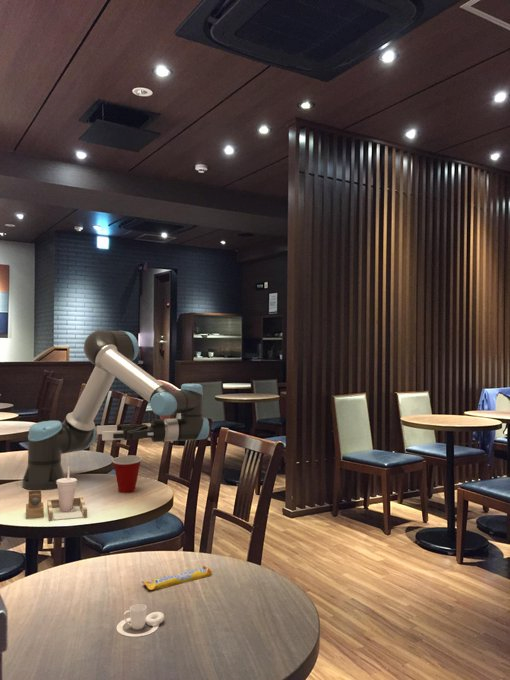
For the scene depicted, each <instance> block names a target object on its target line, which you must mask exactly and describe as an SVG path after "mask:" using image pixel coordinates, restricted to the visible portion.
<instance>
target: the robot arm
mask: <svg viewBox="0 0 510 680" xmlns="http://www.w3.org/2000/svg"><path fill="white" fill-rule="evenodd" d="M139 347H140V345H139V344H138V339H137V338H136V336H135V335H134V333H131V332H129V331H124V330H104V329H98V330H95V331H93V332H91V333H90V334H89V335H88V336H87V337H86V338H85V340H84V343H83V351H84V354H85V357H86V359H88V361H89V362H90V363H91V364H93V365H94V368H93V370H92V372H91V374H90V376H89V377H88V380H87V383H86V385H85V387H84V388H83V390H82V393H81V395H80V397H79V398H78V401H77V403H76V404H75V407H74V409H73V411H72V412H69V413H67V414H66V416H65V418H64V420H63V421H62V422H61V421H60V420H43V421H39V422H36V423H33V424H32V425H31V426H29V428H28V435H27V439H28V441H27V442H28V448H27V450H28V451H27V452H28V453H27V467H26V470H25V473H24V475H23V478H22V483H21V484H22V485H21V486H22V488H24V489H25V490H30V491H34V490H41V491H42V490H43V491H45V490H52V489H58V486H57V484H56V481H57V480H58V479H62V478H66V476H65V475H66V474H65V473H64V470H63V467H62V455H63V454H69V453H74V452H80V451H83V450H86V449H88V448H90V447H91V446H92V445H93V444H94V442H95V440H96V434H97V435H101V440H102V441H119V440H121V441H123V440H125V441H128V442H129V441H135V440H141V439H142V440H143V439H149V438H151V441H152V442H153V443H155V442H156V443H158V442H160V443H161V442H170V443H174V441H178V442H180V441H197V440H206V439H207V438H208V436H209V434H210V422H209V420H208V418H207V417H203V408H204V407H203V403H204V402H203V401H204V400H203V398H204V392H203V391H204V390H203V385H201V384H200V383H183V384H181V385H180V390H174V391H173V390H171V388H168V387H167V386H166V385H164V384H163V383H161V382H160V380H158V379H157V378H155V377H153V376H152V375H151V374H150V373H148V372H147V371H145V370H144V369H143V368H142V367H140V366H138V365H137V364H136V363H134V362H133V361H134V360H135V359H136V358H138V355H139V352H140V348H139ZM115 379H118V380H119V381H120V382H121V383H123V384H124V385H125V386H127V388H128V387H129V389H131V390H132V391H134V392H135V393H136V394H137V395H139V396H140V397H141V398H142V399H144V400H145V401H147V402H148V403H150V404H149V405H150V408H151V410H152V412H153V414H155V415H157V416H165V417H167V416H168V417H169V416H170V415H177V414H180V418H164V419H161V418H160V419H157V418H156V419H152V420H151V423H150V426H148V425H147V424H127V423H126V424H123V423H119V424H115V425H113V424H112V425H97V426H96V424H95V422H94V420H95V418H96V416H97V415H98V412H99V410H100V409H101V407H102V404H103V402H105V401H104V400H105V399H106V397H107V395H108V392H109V390H110V388H111V387H112V384H113V383H114V381H115ZM95 426H96V427H95Z"/></svg>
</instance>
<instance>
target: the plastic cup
mask: <svg viewBox="0 0 510 680" xmlns="http://www.w3.org/2000/svg"><path fill="white" fill-rule="evenodd" d="M142 460H143V458H142V456H140V455H131V454H130V455H120V456H118V457H114V458H113V459H112V460H111V462H112V465H113V467H114V471H115V477H116V483H117V489H118V492H119V493H123V494H130V493H134V492H135V490H136V486H137V482H138V476H139V471H140V466H141V462H142Z"/></svg>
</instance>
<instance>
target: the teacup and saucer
mask: <svg viewBox="0 0 510 680" xmlns="http://www.w3.org/2000/svg"><path fill="white" fill-rule="evenodd" d="M147 608H148V607H147V605H146V604H143V603H136V604H132V605H130V607H129V610H126V611H124V613H123V619H122V620H121V621H120V622H119V623H117V625H116V627H115V628H116V631H117V633H118V634H120V635H122V636H124V637H128V638H129V637H130V638H137V637H138V638H140V637H145V636H149V635H150V634H153V633H154V632H156V631H157V630H158V629H159V627H160V624H162V623H163V622H164V620H165V614H164V613H163V612H161V611H153V612H150V613H149V614H147ZM127 613H128V614H129V617H127V618H126V616H125V615H126V614H127ZM129 622H130V623H129ZM125 624H127V625H128V626H130V627H131V628H132V630H142V629H143V628H144V627H145V624H146V625H147V626H150V627H152V628H151V629H150V630H148V631H145V632H141V633H129V632H126V631H125V630H124V625H125Z"/></svg>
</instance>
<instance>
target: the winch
mask: <svg viewBox="0 0 510 680" xmlns="http://www.w3.org/2000/svg"><path fill="white" fill-rule="evenodd" d="M44 508H45V507H44V502H42V490H29V491H28V503H25V519H26V520H27V519H39V518H44V510H45V509H44Z"/></svg>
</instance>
